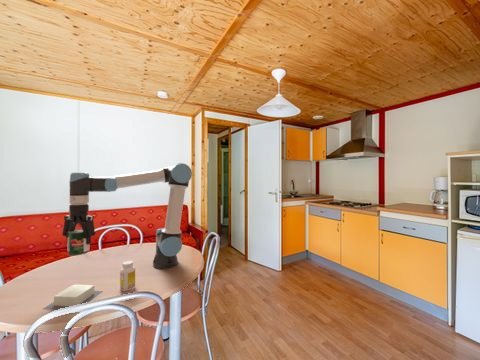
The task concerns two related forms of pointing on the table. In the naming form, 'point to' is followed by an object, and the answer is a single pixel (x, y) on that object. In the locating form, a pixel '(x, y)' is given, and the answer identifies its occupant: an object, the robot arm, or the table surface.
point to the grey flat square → (68, 306)
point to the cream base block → (74, 295)
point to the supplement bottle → (127, 276)
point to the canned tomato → (76, 242)
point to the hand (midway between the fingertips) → (78, 250)
